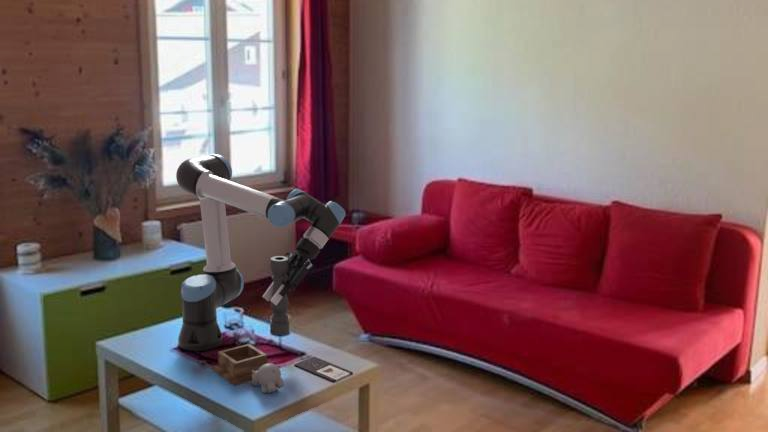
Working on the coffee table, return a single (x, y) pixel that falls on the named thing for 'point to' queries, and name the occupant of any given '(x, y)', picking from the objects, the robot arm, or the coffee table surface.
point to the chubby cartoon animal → (268, 378)
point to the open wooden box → (239, 363)
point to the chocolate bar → (323, 369)
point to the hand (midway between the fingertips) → (269, 300)
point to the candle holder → (280, 318)
